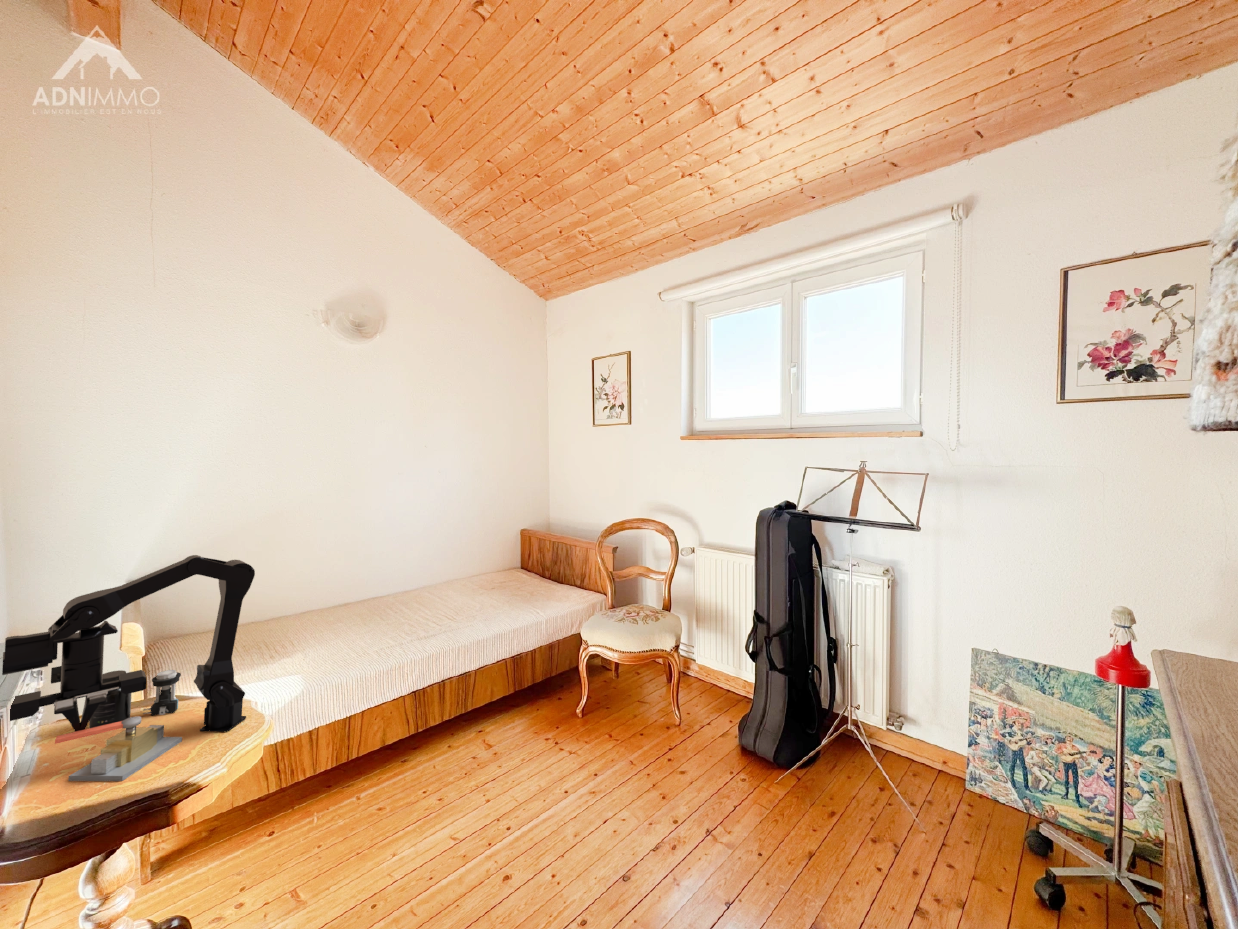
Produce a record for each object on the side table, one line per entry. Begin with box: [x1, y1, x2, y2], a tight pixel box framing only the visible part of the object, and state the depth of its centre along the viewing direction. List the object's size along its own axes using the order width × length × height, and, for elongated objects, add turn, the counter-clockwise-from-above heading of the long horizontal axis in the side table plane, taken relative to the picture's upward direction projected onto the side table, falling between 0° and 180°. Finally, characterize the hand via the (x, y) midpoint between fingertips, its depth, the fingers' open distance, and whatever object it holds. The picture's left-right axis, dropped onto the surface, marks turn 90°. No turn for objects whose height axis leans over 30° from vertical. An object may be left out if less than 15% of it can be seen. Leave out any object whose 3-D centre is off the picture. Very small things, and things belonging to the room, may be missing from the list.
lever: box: [54, 715, 142, 745], centre depth 99 cm, size 12×3×1 cm, turn 134°
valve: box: [90, 724, 165, 774], centre depth 102 cm, size 5×13×6 cm, turn 4°
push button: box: [142, 669, 182, 716], centre depth 121 cm, size 7×5×10 cm
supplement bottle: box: [88, 669, 132, 729], centre depth 115 cm, size 7×7×12 cm
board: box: [68, 736, 183, 782], centre depth 102 cm, size 10×14×1 cm
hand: (79, 734), depth 98 cm, fingers closed
